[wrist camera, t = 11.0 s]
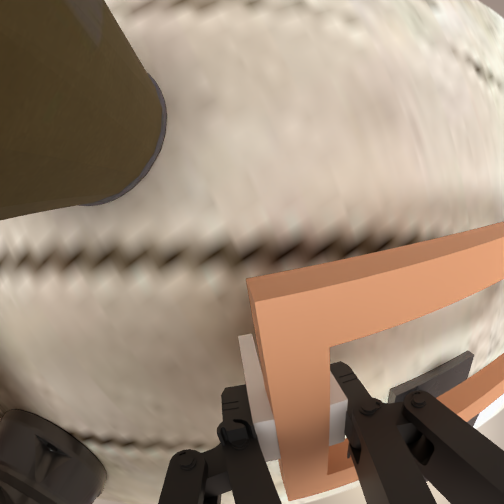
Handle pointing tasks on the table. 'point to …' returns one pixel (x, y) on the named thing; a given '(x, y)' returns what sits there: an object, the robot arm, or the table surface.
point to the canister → (71, 107)
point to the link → (357, 326)
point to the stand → (437, 381)
